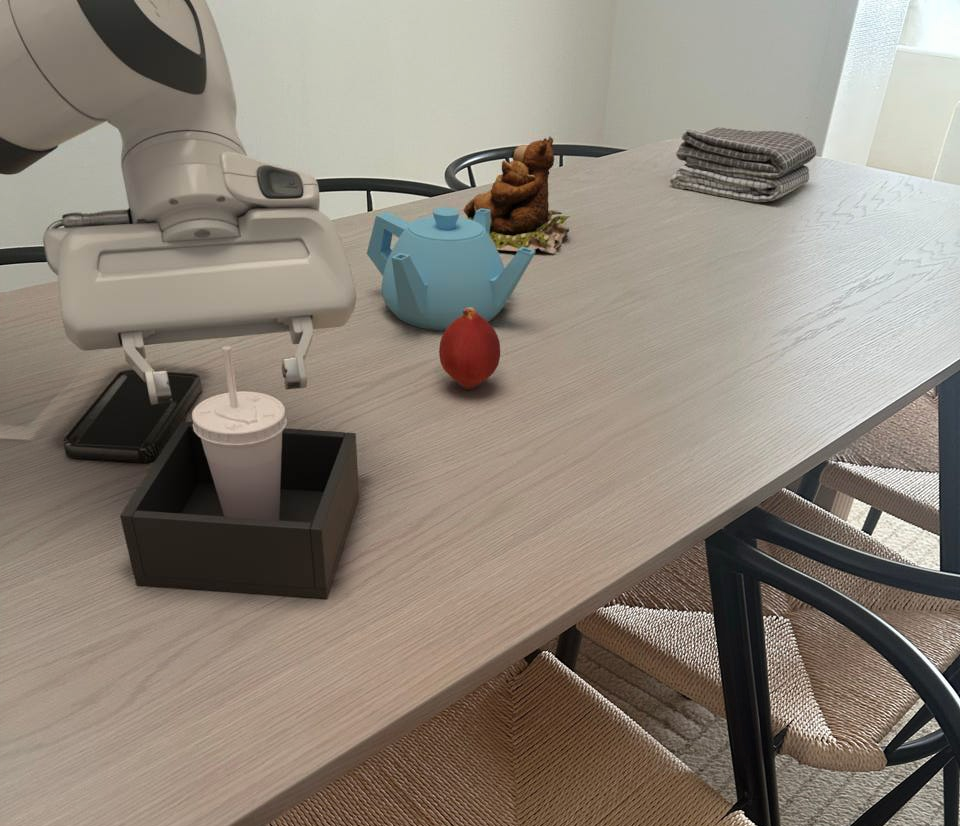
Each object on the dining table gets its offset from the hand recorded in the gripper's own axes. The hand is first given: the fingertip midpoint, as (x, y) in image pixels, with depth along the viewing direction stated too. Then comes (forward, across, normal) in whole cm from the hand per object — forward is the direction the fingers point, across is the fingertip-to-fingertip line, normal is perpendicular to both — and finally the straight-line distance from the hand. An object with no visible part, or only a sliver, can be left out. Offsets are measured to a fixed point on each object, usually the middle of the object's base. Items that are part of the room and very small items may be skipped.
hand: (230, 393), depth 70 cm
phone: (-6, -7, +21) cm, 23 cm away
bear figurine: (-34, +44, +49) cm, 74 cm away
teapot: (-18, +28, +34) cm, 47 cm away
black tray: (+9, 0, +6) cm, 11 cm away
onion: (-5, +24, +20) cm, 32 cm away
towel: (-45, +87, +60) cm, 115 cm away
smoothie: (+9, 0, +5) cm, 10 cm away
